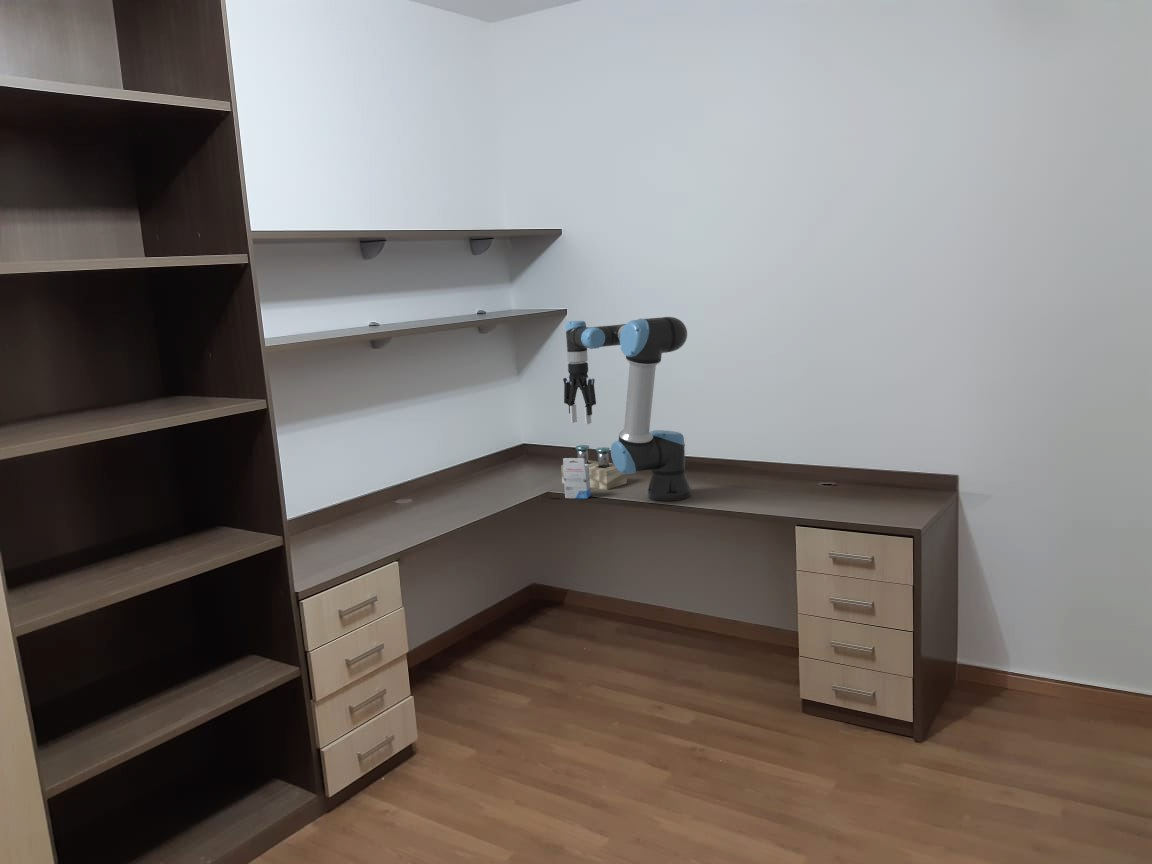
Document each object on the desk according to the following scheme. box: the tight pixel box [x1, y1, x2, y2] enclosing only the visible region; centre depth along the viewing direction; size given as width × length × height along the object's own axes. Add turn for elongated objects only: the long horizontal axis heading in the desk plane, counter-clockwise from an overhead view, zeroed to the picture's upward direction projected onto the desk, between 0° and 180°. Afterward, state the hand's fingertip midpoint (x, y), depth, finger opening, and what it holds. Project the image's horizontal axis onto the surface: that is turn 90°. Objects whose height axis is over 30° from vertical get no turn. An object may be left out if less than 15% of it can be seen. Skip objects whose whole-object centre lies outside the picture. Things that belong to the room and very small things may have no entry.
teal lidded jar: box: [575, 444, 590, 464], centre depth 347 cm, size 5×5×8 cm
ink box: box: [562, 457, 592, 500], centre depth 325 cm, size 9×5×15 cm, turn 71°
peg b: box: [595, 446, 611, 468], centre depth 340 cm, size 5×5×8 cm
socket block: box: [560, 459, 628, 491], centre depth 345 cm, size 22×12×7 cm, turn 49°
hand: (581, 422), depth 344 cm, fingers open, 6 cm apart
